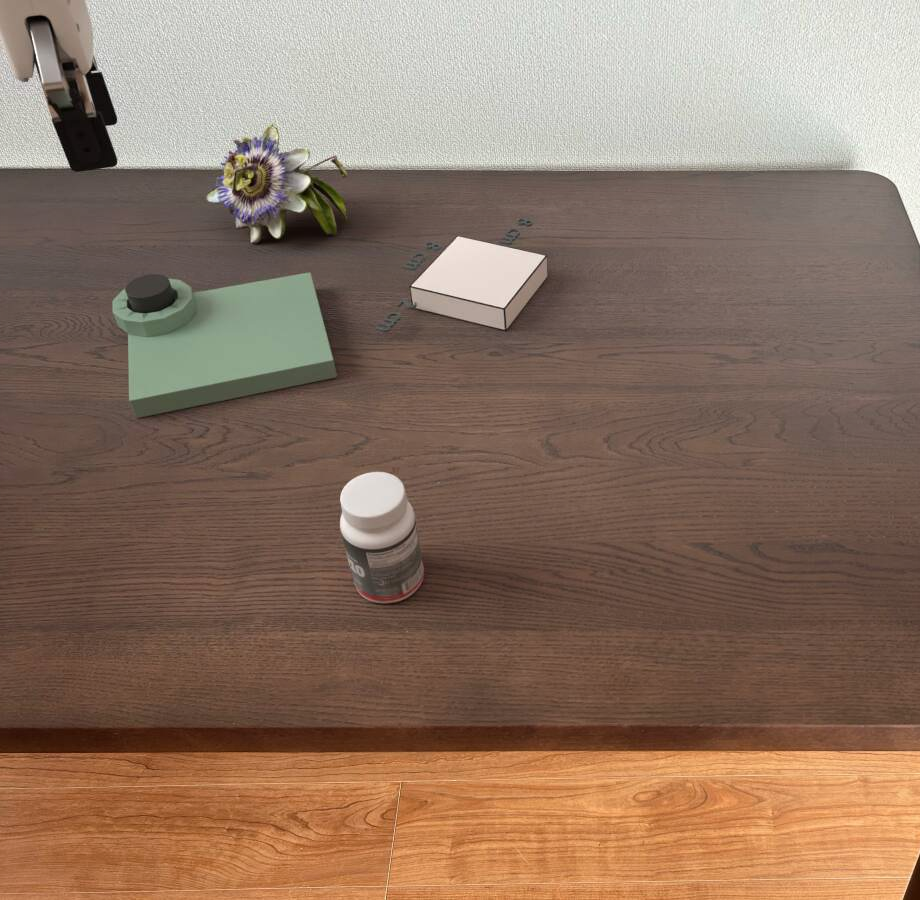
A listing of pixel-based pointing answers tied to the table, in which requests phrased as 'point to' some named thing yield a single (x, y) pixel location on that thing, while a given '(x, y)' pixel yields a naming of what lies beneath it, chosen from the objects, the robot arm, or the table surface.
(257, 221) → the passion flower
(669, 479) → the table surface
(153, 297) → the button
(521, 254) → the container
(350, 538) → the pill bottle
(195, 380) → the scale
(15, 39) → the robot arm
